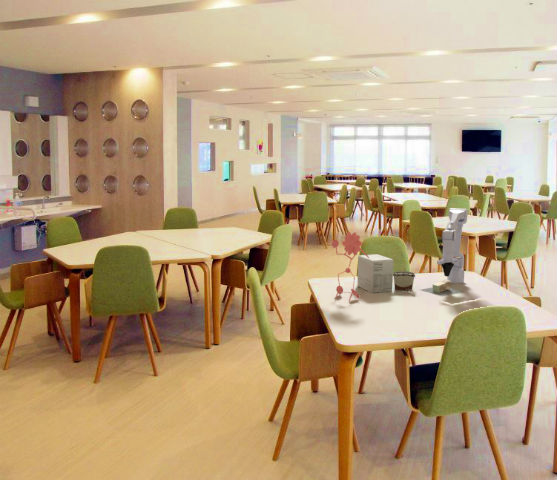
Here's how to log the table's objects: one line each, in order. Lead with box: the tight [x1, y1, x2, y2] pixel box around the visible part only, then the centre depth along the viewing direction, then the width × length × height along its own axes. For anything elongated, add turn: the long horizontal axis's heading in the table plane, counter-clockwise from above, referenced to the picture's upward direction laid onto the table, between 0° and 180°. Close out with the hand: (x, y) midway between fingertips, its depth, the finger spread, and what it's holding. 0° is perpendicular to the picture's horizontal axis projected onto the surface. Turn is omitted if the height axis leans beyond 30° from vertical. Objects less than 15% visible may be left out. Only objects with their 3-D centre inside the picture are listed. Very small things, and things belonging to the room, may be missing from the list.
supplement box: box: [356, 253, 394, 294], centre depth 332 cm, size 17×13×18 cm
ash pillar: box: [432, 279, 452, 293], centre depth 325 cm, size 4×4×10 cm
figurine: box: [331, 231, 369, 304], centre depth 312 cm, size 15×26×35 cm, turn 43°
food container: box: [393, 270, 416, 292], centre depth 331 cm, size 12×6×10 cm, turn 84°
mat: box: [420, 286, 465, 297], centre depth 326 cm, size 18×16×2 cm
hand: (446, 276), depth 326 cm, fingers closed
